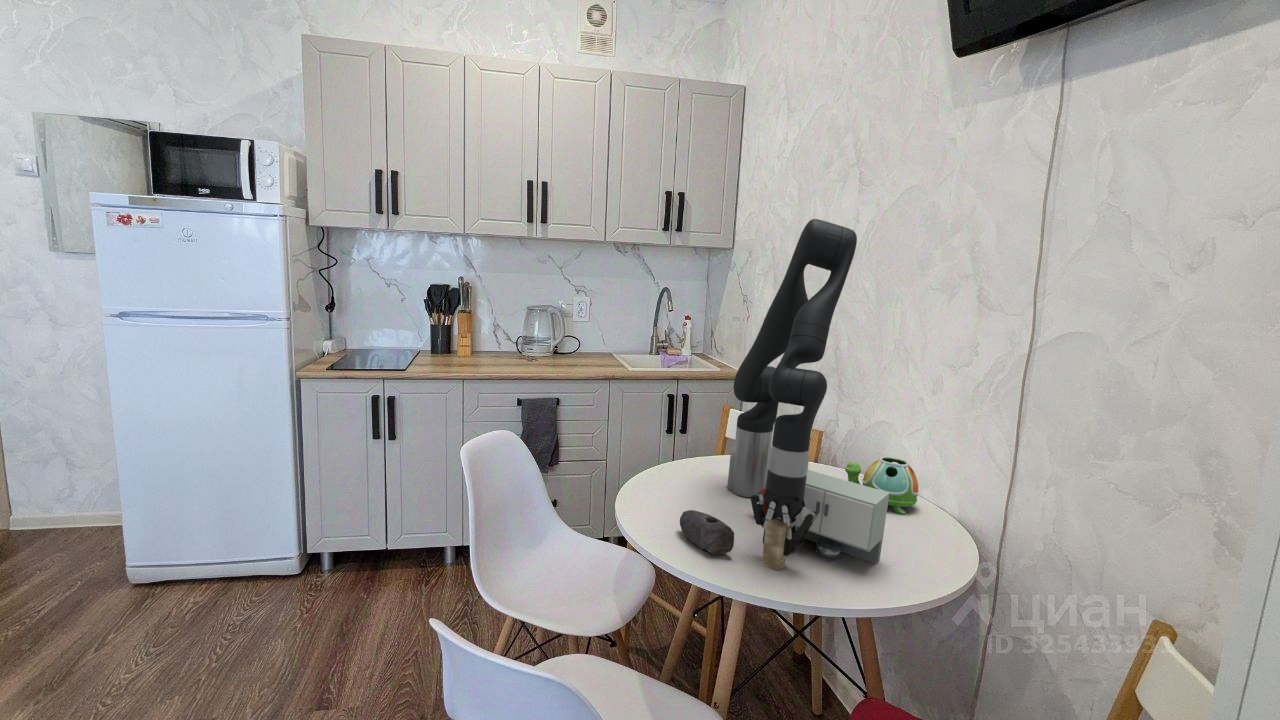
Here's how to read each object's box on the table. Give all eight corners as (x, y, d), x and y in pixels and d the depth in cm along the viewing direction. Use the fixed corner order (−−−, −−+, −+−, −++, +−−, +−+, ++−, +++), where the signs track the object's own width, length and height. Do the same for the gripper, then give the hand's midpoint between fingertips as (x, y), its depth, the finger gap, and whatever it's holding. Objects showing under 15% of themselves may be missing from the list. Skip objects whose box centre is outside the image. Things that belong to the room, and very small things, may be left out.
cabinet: (770, 543, 132) (778, 476, 130) (789, 529, 140) (797, 466, 137) (864, 578, 120) (874, 505, 118) (879, 561, 128) (889, 492, 125)
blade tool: (761, 564, 123) (766, 522, 121) (794, 539, 134) (799, 501, 133) (777, 570, 121) (782, 527, 119) (809, 545, 132) (814, 506, 131)
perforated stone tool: (671, 532, 134) (673, 502, 133) (690, 528, 137) (692, 498, 136) (714, 564, 122) (718, 531, 121) (735, 558, 125) (738, 526, 123)
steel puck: (811, 555, 129) (813, 544, 128) (821, 547, 132) (822, 536, 132) (834, 563, 126) (836, 552, 125) (843, 555, 129) (845, 544, 129)
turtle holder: (845, 487, 169) (850, 445, 167) (916, 502, 162) (923, 459, 160) (838, 502, 158) (844, 457, 156) (914, 519, 151) (922, 473, 149)
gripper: (829, 474, 119) (818, 557, 122) (764, 455, 128) (755, 533, 131) (814, 483, 113) (802, 570, 116) (746, 463, 122) (737, 544, 125)
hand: (777, 550), depth 123 cm, fingers closed on blade tool, 3 cm apart
